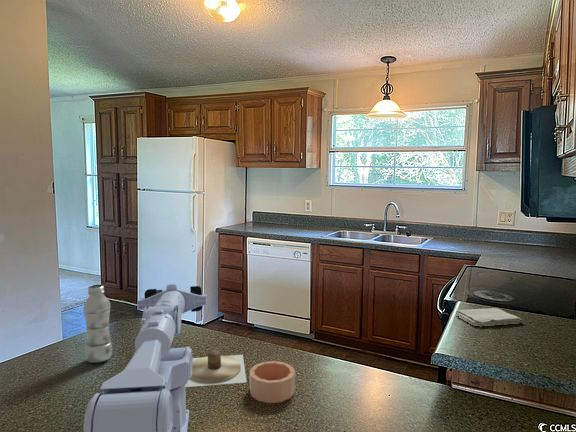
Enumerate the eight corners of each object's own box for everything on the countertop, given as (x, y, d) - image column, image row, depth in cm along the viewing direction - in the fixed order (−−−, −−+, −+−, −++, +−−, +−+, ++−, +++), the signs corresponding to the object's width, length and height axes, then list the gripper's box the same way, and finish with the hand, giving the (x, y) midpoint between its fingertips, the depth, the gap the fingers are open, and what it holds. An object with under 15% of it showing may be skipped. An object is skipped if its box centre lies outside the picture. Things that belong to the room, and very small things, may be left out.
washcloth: (453, 317, 147) (453, 308, 146) (497, 313, 150) (498, 305, 150) (475, 329, 135) (475, 320, 135) (523, 325, 139) (523, 316, 139)
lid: (242, 380, 100) (241, 363, 99) (185, 384, 98) (185, 367, 97) (239, 356, 113) (239, 341, 112) (189, 360, 111) (189, 344, 110)
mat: (246, 384, 99) (246, 382, 99) (181, 389, 97) (181, 387, 97) (242, 356, 114) (242, 354, 114) (185, 360, 111) (185, 358, 111)
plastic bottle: (79, 362, 110) (75, 287, 107) (101, 352, 116) (98, 281, 113) (96, 368, 107) (92, 291, 104) (118, 357, 113) (115, 284, 110)
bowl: (298, 402, 92) (298, 380, 91) (252, 406, 90) (251, 384, 89) (290, 379, 101) (290, 359, 101) (248, 383, 100) (248, 362, 99)
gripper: (204, 287, 88) (207, 274, 101) (131, 291, 86) (145, 278, 99) (205, 320, 88) (209, 303, 102) (133, 325, 86) (147, 307, 100)
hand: (177, 292), depth 100 cm, fingers open, 7 cm apart
